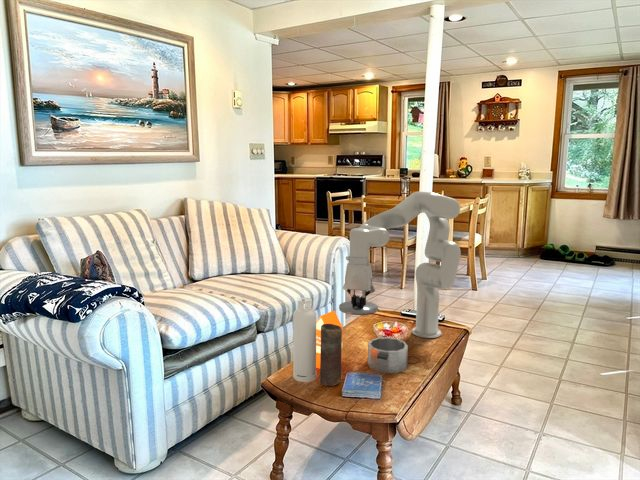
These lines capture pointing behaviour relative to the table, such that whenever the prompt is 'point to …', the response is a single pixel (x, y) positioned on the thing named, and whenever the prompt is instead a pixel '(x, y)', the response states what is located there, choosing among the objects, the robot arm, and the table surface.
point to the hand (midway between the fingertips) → (358, 305)
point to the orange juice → (324, 319)
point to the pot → (387, 355)
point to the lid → (358, 307)
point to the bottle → (304, 341)
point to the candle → (330, 354)
